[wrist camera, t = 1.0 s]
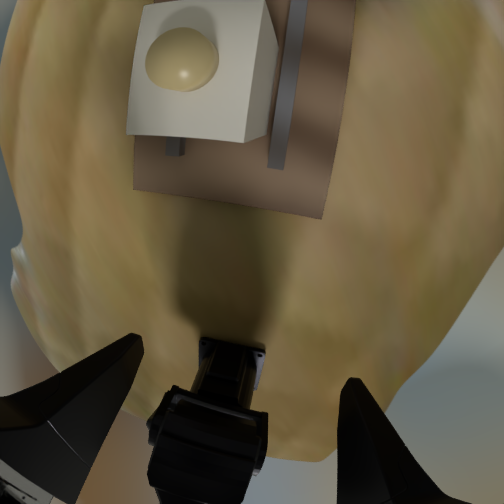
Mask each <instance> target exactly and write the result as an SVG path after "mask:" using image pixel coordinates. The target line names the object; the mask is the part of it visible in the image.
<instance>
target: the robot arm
mask: <svg viewBox="0 0 504 504" xmlns="http://www.w3.org/2000/svg"><path fill="white" fill-rule="evenodd" d="M265 354H266V353H265V351H264V350H262V349H257V348H252V347H247V346H242V345H237V344H233V343H228V342H223V341H219V340H215V339H210V338H206V337H201V338H200V341H199V370H198V372H197V375H196V377H195V380H194V382H193V385H192V387H191V390H190V391H187V390H185V389H182V388H179V386H176V385H173V386H172V388H171V390H170V391H169V390H168V392H165V395H164V397H163V399H162V401H161V403H160V405H159V407H158V408H157V409H156V410H155V412H154V413H153V414H152V415H151V416H150V418H149V419H148V420H147V423H146V426H147V428H148V429H149V440H148V443H149V445H152V446H154V448H153V451H152V455H151V458H150V461H149V465H148V471H147V476H148V480H149V484H150V486H152V487H154V488H155V491H156V493H157V496H158V499H159V501H160V504H241V503H242V501H243V500H244V496H245V493H246V490H247V488H248V485H249V482H250V479H251V476H252V475H254V476H256V475H257V474H258V473H259V472H260V470H261V468H262V466H263V463H264V459H265V456H266V452H267V445H268V413H267V412H258V411H254V410H250V405H251V400H252V396H253V391H254V390H257V387H258V383H259V379H260V375H261V371H262V367H263V363H264V359H265ZM143 355H144V347H143V341H142V337H141V336H140V335H138V334H135V333H129V334H128V335H126V336H124V337H122V338H120V339H119V340H117V341H115V342H113V343H112V344H110V345H108V346H106V347H104V348H103V349H101V350H99V351H97V352H96V353H94V354H92V355H90V356H88V357H87V358H85V359H83V360H81V361H79V362H78V363H76V364H74V365H72V366H70V367H69V368H67V369H65V370H63V371H62V372H61V373H58V374H56V375H54V376H52V377H50V378H49V379H47V380H45V381H43V382H40V383H38V384H36V385H34V386H31V387H29V388H26V389H24V390H22V391H19V392H17V393H14V394H11V395H9V396H4V397H0V504H50V502H51V500H52V498H53V496H54V497H56V498H58V499H59V500H61V501H63V502H65V503H67V504H75V503H76V500H77V498H78V496H79V494H80V491H81V489H82V487H83V485H84V483H85V480H86V478H87V476H88V474H89V472H90V468H91V467H92V465H93V463H94V461H95V459H96V457H97V454H98V452H99V450H100V448H101V446H102V444H103V442H104V440H105V438H106V436H107V434H108V432H109V430H110V428H111V425H112V424H113V422H114V420H115V418H116V416H117V414H118V412H119V410H120V408H121V406H122V404H123V402H124V400H125V398H126V396H127V394H128V392H129V390H130V388H131V386H132V384H133V381H134V378H135V376H136V373H137V371H138V368H139V365H140V363H141V360H142V358H143ZM337 455H338V456H337V457H338V458H337V459H338V460H337V462H338V463H337V464H338V468H337V472H338V473H337V504H471V503H468V502H464V501H461V500H458V499H455V498H452V497H450V496H448V495H446V494H445V493H443V492H442V491H441V490H440V489H439V488H438V486H437V485H436V484H435V483H434V482H433V481H432V479H431V478H430V477H429V476H428V475H427V473H426V472H425V471H424V470H423V469H422V467H421V466H420V465H419V464H418V462H417V461H416V460H415V459H414V457H413V455H412V454H411V453H410V451H409V450H408V448H407V447H406V446H405V444H404V442H403V441H402V439H401V438H400V436H399V435H398V433H397V432H396V430H395V429H394V427H393V426H392V424H391V423H390V421H389V420H388V418H387V417H386V415H385V414H384V412H383V411H382V409H381V408H380V407H379V405H378V404H377V402H376V401H375V399H374V398H373V396H372V395H371V393H370V392H369V390H368V389H367V388H366V386H365V385H364V383H363V382H362V380H361V379H360V378H353V377H350V378H349V379H348V380H347V382H346V383H345V385H344V387H343V389H342V391H341V394H340V404H339V416H338V427H337Z"/></svg>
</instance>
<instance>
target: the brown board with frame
mask: <svg viewBox="0 0 504 504" xmlns="http://www.w3.org/2000/svg"><path fill="white" fill-rule="evenodd" d="M169 1H178V0H154V4H155V3H162V2H169ZM265 1H266V5H267V8H268V11H269V14H270V18H271V21H272V25H273V28H274V32H275V35H276V39H277V42H278V46H279V52H278V58H277V65H276V72H275V79H274V86H273V93H272V100H271V107H270V114H269V121H268V128H267V135H264V136H262V137H259V138H256V139H253V140H251V141H248V142H245V143H239V142H230V141H221V140H212V139H201V138H189V137H174V136H154V135H135V144H134V180H133V190H140V191H148V192H156V193H164V194H171V195H179V196H186V197H193V198H200V199H206V200H213V201H220V202H226V203H232V204H238V205H244V206H250V207H256V208H262V209H268V210H273V211H279V212H284V213H290V214H295V215H301V216H306V217H311V218H316V219H321V220H322V215H323V211H324V206H325V202H326V197H327V193H328V188H329V183H330V178H331V173H332V168H333V163H334V158H335V152H336V147H337V142H338V136H339V130H340V124H341V118H342V112H343V106H344V99H345V93H346V86H347V79H348V71H349V63H350V55H351V47H352V37H353V27H354V17H355V4H356V0H265Z"/></svg>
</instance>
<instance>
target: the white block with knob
mask: <svg viewBox="0 0 504 504" xmlns="http://www.w3.org/2000/svg"><path fill="white" fill-rule="evenodd" d="M278 52H279V46H278V42H277V39H276V35H275V32H274V28H273V25H272V21H271V18H270V14H269V11H268V8H267V5H266V1H265V0H178V1H169V2H162V3H155V4H149V5H144V8H143V12H142V17H141V21H140V26H139V31H138V37H137V42H136V48H135V54H134V60H133V67H132V75H131V83H130V91H129V101H128V113H127V127H126V135H154V136H174V137H189V138H201V139H212V140H221V141H230V142H239V143H245V142H248V141H251V140H253V139H256V138H259V137H262V136H264V135H267V128H268V121H269V114H270V107H271V100H272V93H273V86H274V79H275V72H276V65H277V58H278Z"/></svg>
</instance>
